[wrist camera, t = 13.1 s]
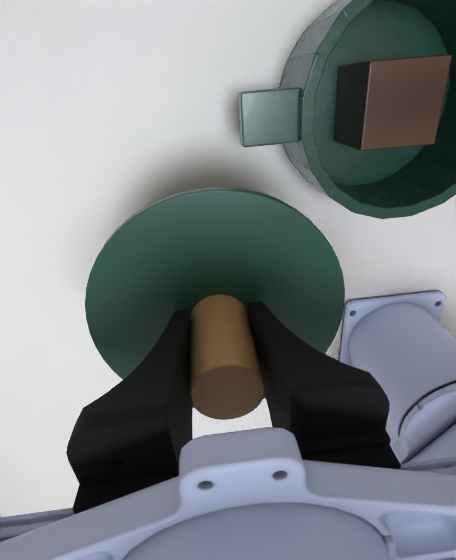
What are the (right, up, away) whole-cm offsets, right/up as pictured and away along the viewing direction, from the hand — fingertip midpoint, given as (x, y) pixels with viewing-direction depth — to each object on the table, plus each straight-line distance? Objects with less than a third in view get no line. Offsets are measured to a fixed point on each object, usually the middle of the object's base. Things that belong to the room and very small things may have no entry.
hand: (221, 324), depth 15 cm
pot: (+9, +13, +6) cm, 16 cm away
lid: (0, 0, +1) cm, 1 cm away
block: (+9, +12, +5) cm, 16 cm away
